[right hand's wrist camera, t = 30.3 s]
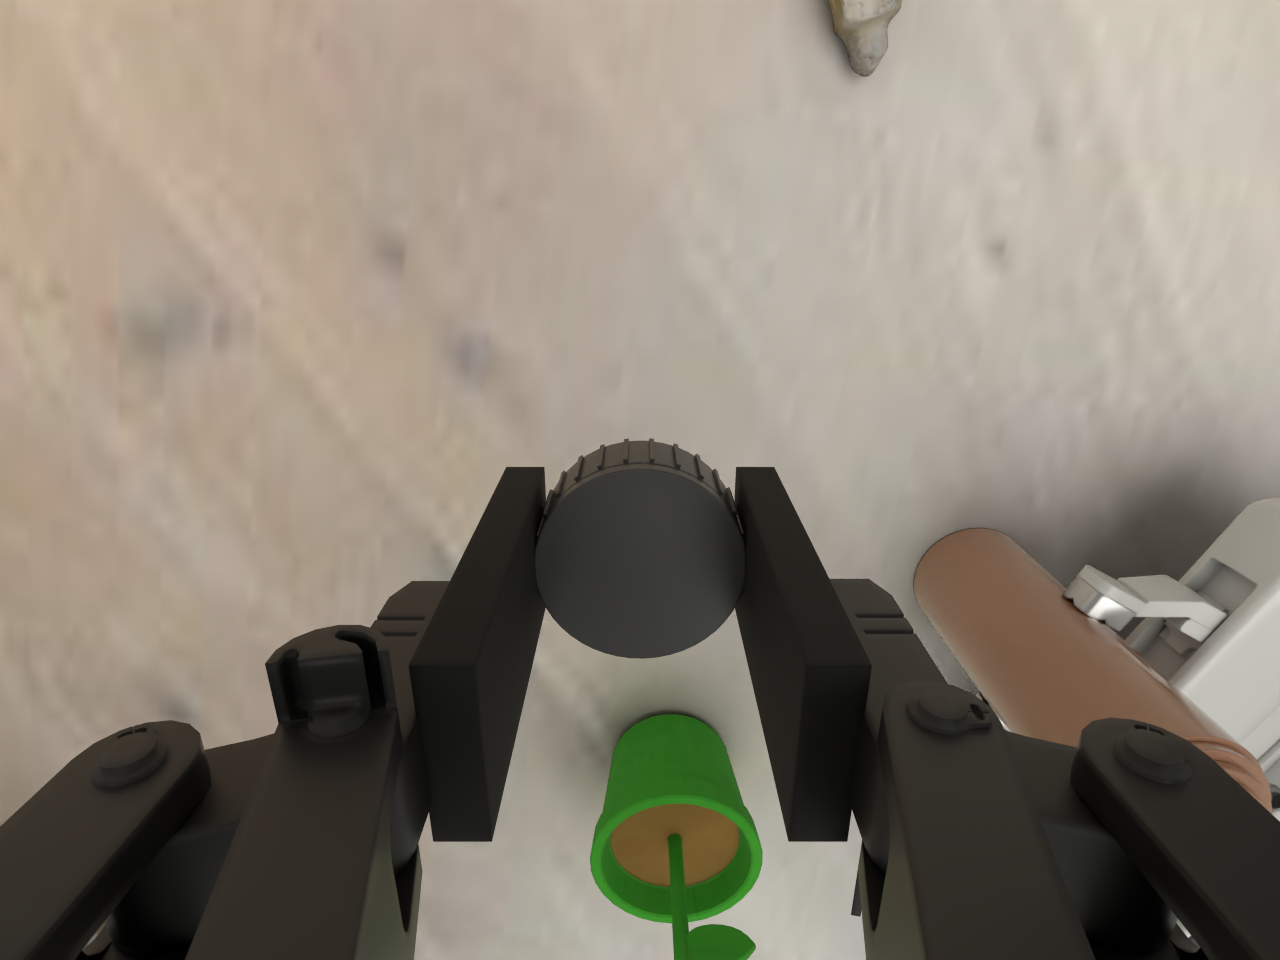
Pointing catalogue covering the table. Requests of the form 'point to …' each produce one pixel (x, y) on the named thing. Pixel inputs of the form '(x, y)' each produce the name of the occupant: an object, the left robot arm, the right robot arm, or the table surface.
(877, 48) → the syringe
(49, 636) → the table surface
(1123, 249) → the table surface
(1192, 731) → the bottle
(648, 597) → the cap
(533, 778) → the table surface
